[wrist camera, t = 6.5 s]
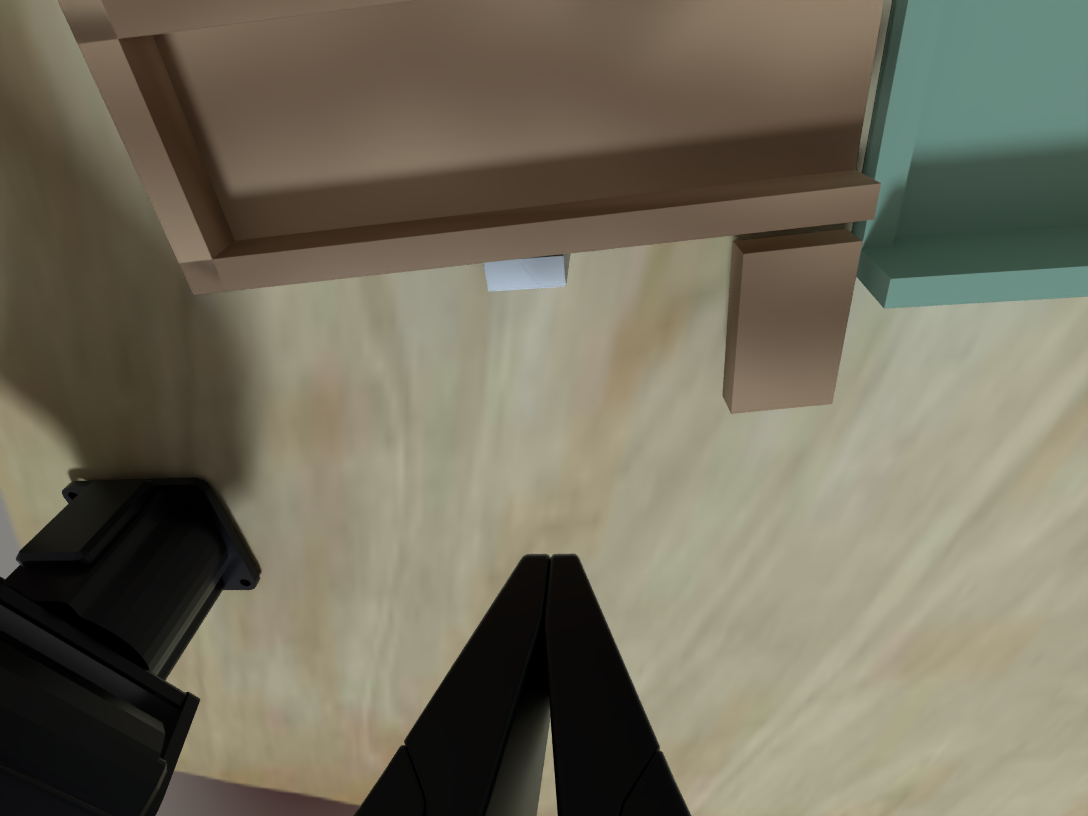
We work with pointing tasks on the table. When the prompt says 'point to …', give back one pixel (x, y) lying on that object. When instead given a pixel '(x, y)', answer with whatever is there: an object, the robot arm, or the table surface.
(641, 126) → the chute
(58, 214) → the table surface
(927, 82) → the tray
